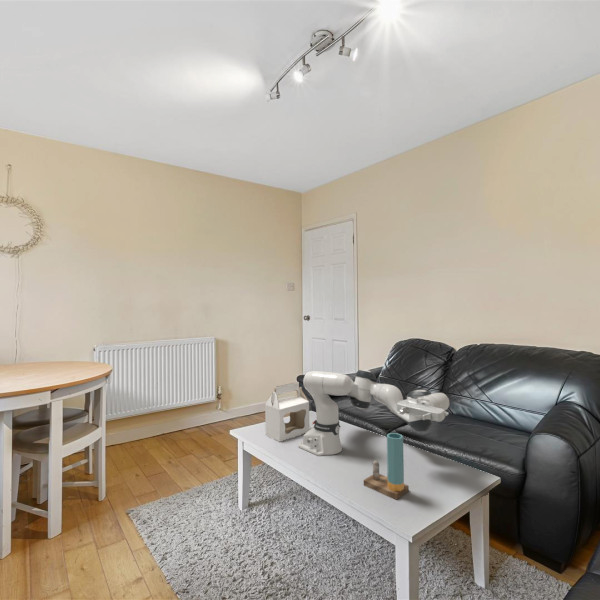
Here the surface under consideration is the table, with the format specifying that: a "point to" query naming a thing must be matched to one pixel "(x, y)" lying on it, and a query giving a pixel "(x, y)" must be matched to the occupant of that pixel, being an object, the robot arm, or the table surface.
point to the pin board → (382, 483)
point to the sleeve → (395, 462)
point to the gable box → (278, 409)
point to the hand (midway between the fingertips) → (411, 415)
